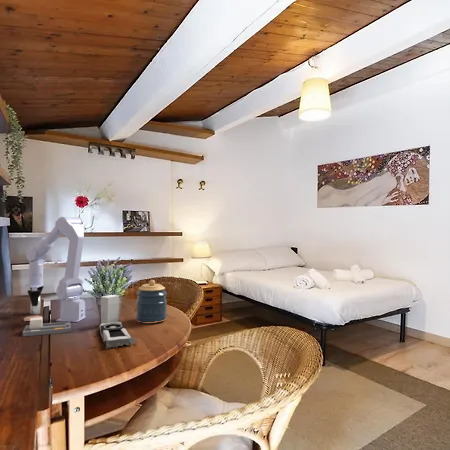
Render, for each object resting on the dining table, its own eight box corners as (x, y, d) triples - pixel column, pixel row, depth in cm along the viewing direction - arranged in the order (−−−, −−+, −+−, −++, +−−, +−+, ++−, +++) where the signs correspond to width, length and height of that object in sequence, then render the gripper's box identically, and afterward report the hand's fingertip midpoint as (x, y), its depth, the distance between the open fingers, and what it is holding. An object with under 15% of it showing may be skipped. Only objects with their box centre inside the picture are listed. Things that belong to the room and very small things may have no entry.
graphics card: (106, 341, 119) (98, 322, 142) (106, 351, 119) (98, 330, 142) (137, 337, 124) (124, 319, 146) (136, 347, 124) (124, 328, 146)
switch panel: (22, 336, 131) (22, 330, 131) (25, 329, 140) (25, 324, 140) (70, 332, 138) (70, 326, 138) (70, 326, 146) (70, 320, 146)
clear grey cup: (42, 312, 167) (42, 295, 167) (37, 314, 163) (37, 297, 163) (33, 312, 167) (34, 295, 167) (28, 314, 163) (28, 296, 163)
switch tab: (29, 329, 135) (29, 320, 135) (30, 326, 138) (30, 318, 138) (41, 328, 136) (41, 319, 136) (42, 325, 140) (42, 317, 140)
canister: (144, 326, 147) (145, 283, 147) (130, 319, 157) (131, 279, 157) (172, 321, 156) (172, 280, 156) (157, 315, 166) (158, 276, 166)
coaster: (45, 317, 158) (45, 315, 158) (36, 322, 151) (36, 320, 151) (30, 317, 158) (30, 315, 158) (20, 321, 151) (20, 319, 151)
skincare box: (111, 322, 152) (112, 294, 152) (118, 324, 150) (119, 295, 150) (100, 325, 147) (100, 296, 147) (107, 327, 145) (107, 297, 145)
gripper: (28, 272, 170) (27, 301, 170) (24, 276, 157) (23, 308, 157) (44, 272, 173) (44, 300, 173) (42, 276, 159) (41, 307, 159)
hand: (35, 304), depth 165 cm, fingers open, 7 cm apart
